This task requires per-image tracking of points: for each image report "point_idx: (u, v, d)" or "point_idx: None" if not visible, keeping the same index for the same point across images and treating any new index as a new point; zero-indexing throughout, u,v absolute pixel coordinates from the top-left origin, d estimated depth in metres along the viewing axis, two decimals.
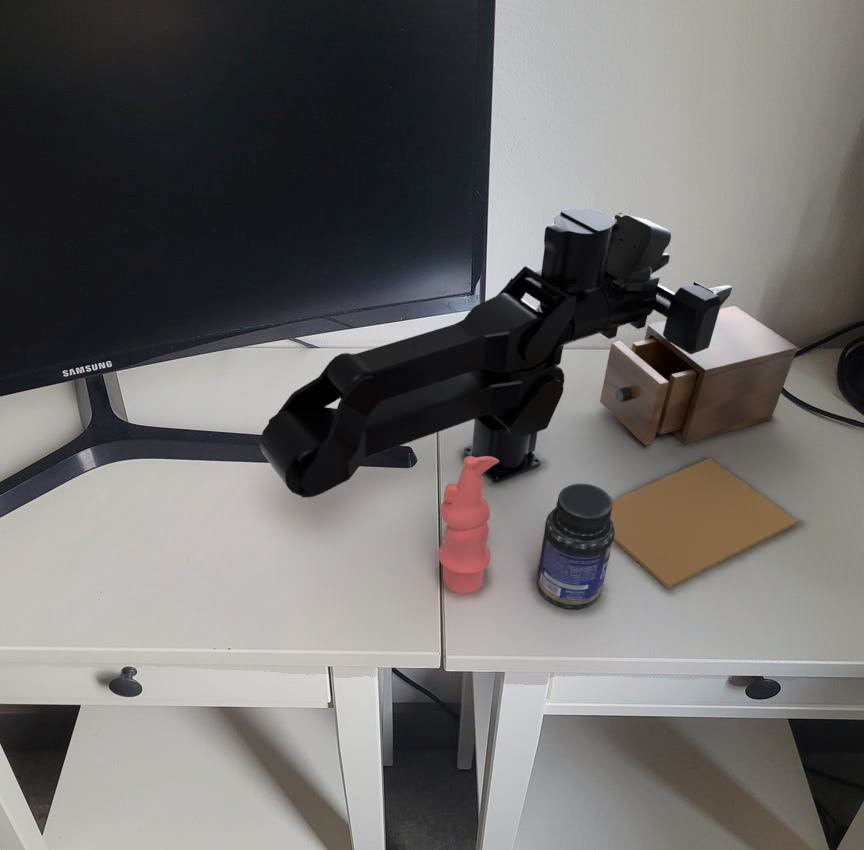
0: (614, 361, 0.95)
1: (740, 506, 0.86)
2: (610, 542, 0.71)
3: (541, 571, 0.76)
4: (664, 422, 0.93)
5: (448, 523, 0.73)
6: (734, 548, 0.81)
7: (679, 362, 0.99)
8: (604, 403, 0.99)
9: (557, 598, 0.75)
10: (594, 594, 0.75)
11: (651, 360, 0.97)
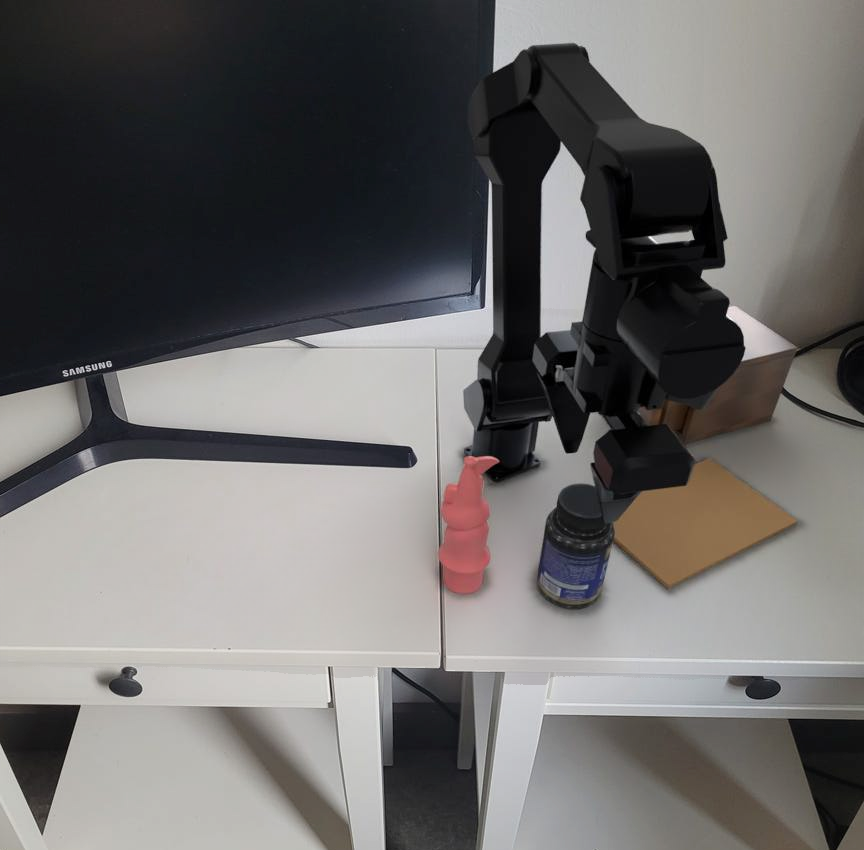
0: None
1: (740, 506, 0.86)
2: (610, 542, 0.71)
3: (541, 571, 0.76)
4: (664, 422, 0.93)
5: (448, 523, 0.73)
6: (734, 548, 0.81)
7: None
8: None
9: (557, 598, 0.75)
10: (594, 594, 0.75)
11: None
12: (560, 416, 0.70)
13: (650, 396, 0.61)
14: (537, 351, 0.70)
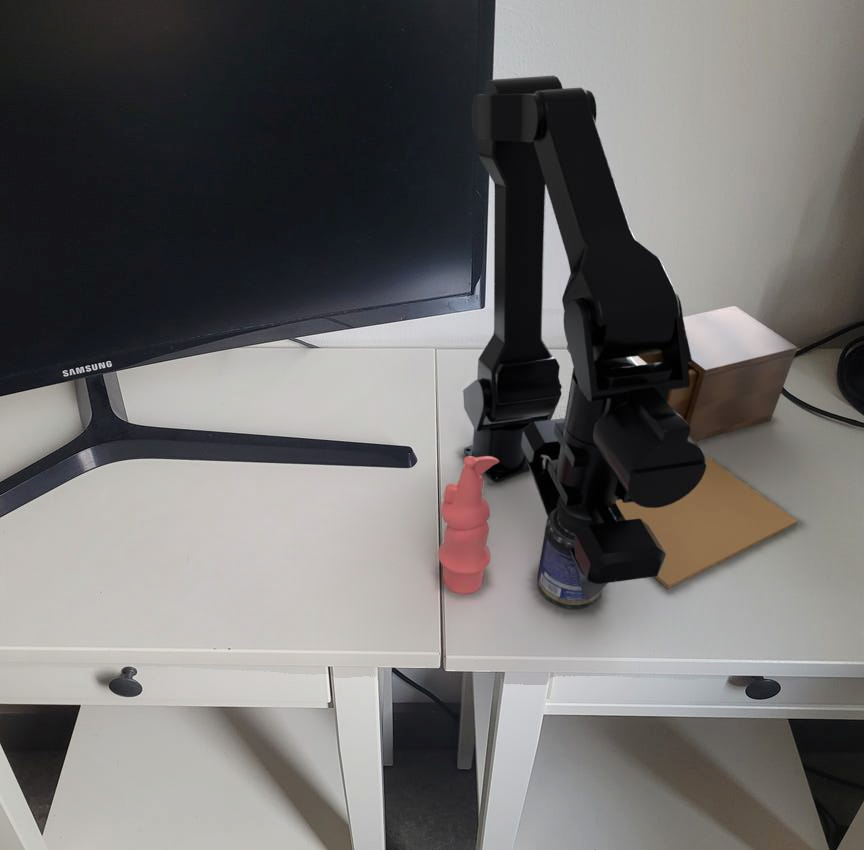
0: None
1: (740, 506, 0.86)
2: None
3: (541, 571, 0.76)
4: None
5: (448, 523, 0.73)
6: (734, 548, 0.81)
7: None
8: None
9: (557, 598, 0.75)
10: None
11: (651, 360, 0.97)
12: (547, 500, 0.76)
13: (626, 491, 0.67)
14: (525, 439, 0.76)
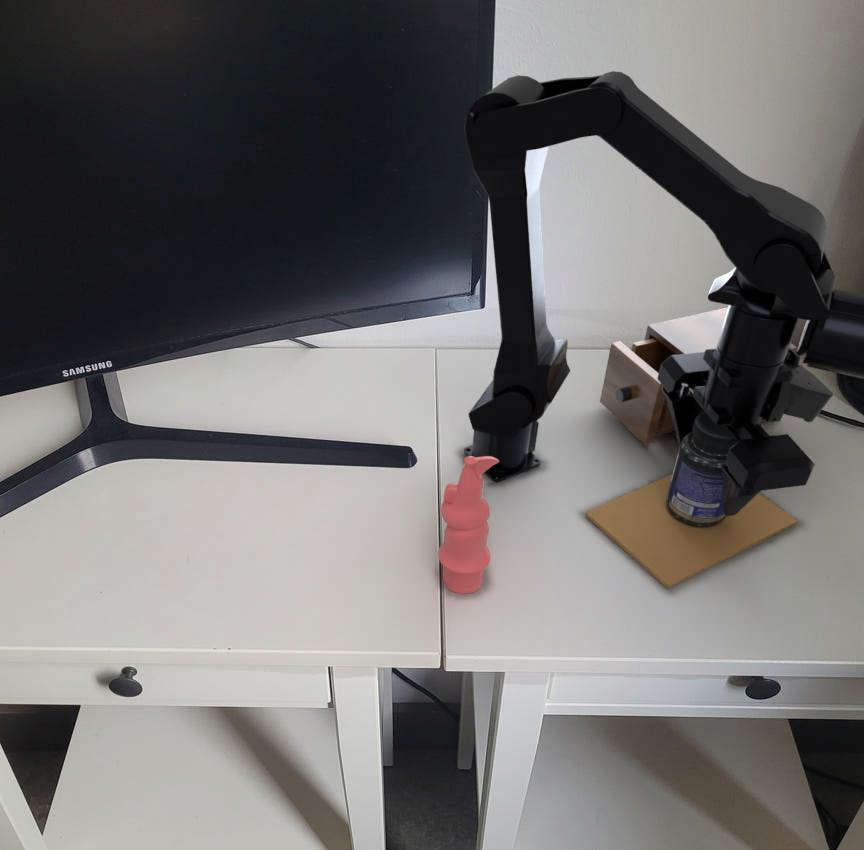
0: (614, 361, 0.95)
1: None
2: None
3: (673, 493, 0.83)
4: (664, 422, 0.93)
5: (448, 523, 0.73)
6: (734, 548, 0.81)
7: None
8: (604, 403, 0.99)
9: (689, 517, 0.82)
10: (723, 513, 0.82)
11: (651, 360, 0.97)
12: (682, 426, 0.83)
13: (772, 411, 0.74)
14: (663, 371, 0.82)
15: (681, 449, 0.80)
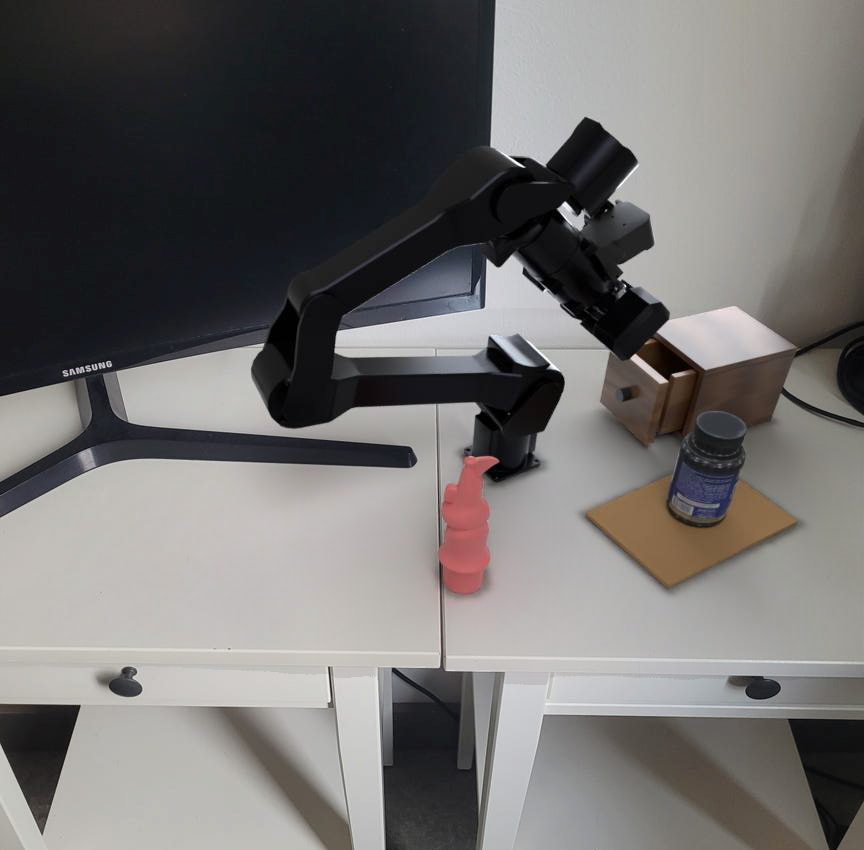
0: (614, 361, 0.95)
1: (740, 506, 0.86)
2: (743, 463, 0.79)
3: (673, 493, 0.83)
4: (664, 422, 0.93)
5: (448, 523, 0.73)
6: (734, 548, 0.81)
7: (679, 362, 0.99)
8: (604, 403, 0.99)
9: (689, 517, 0.82)
10: (723, 513, 0.82)
11: (651, 360, 0.97)
12: None
13: (608, 275, 0.78)
14: (528, 279, 0.89)
15: (682, 449, 0.80)
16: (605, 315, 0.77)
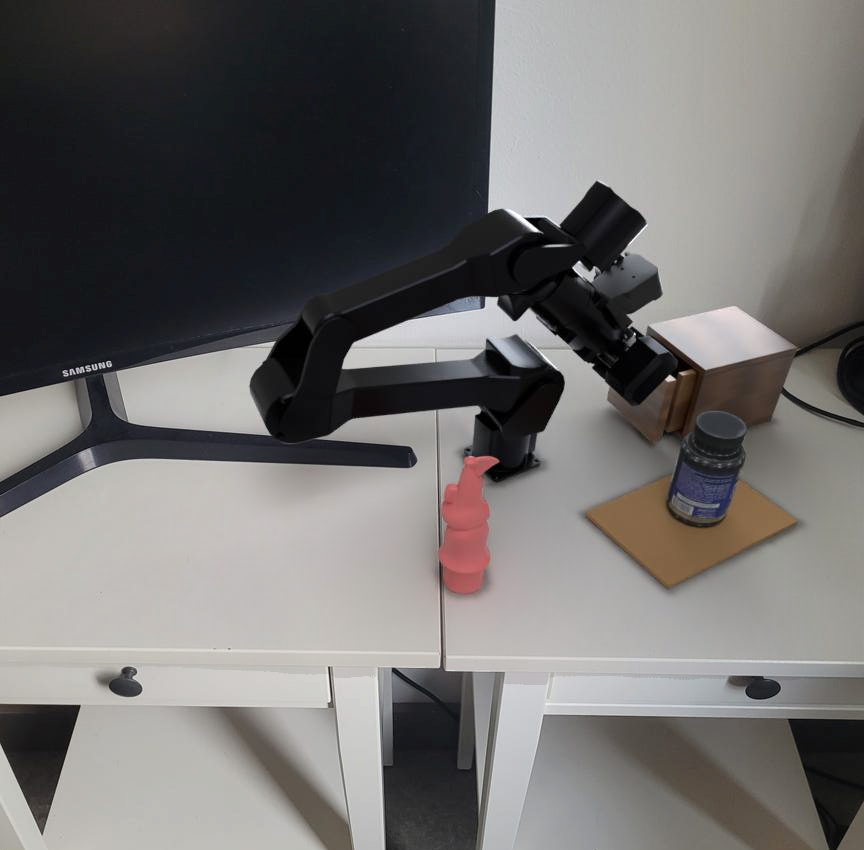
0: None
1: (740, 506, 0.86)
2: (743, 463, 0.79)
3: (673, 493, 0.83)
4: (671, 420, 0.93)
5: (448, 523, 0.73)
6: (734, 548, 0.81)
7: None
8: (611, 401, 0.99)
9: (689, 517, 0.82)
10: (723, 513, 0.82)
11: None
12: None
13: (618, 324, 0.83)
14: (541, 322, 0.93)
15: (682, 449, 0.80)
16: (616, 363, 0.82)
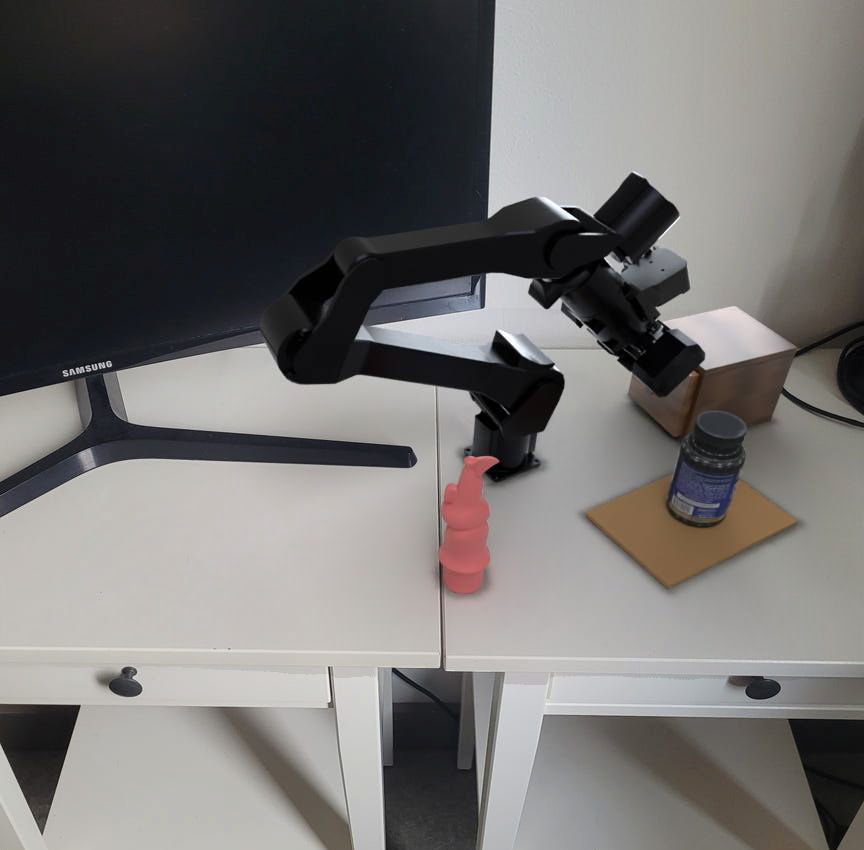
0: None
1: (740, 506, 0.86)
2: (743, 463, 0.79)
3: (673, 493, 0.83)
4: None
5: (448, 523, 0.73)
6: (734, 548, 0.81)
7: None
8: (632, 396, 1.00)
9: (689, 517, 0.82)
10: (722, 513, 0.82)
11: None
12: None
13: (646, 316, 0.84)
14: (565, 315, 0.94)
15: (682, 449, 0.80)
16: (644, 354, 0.83)
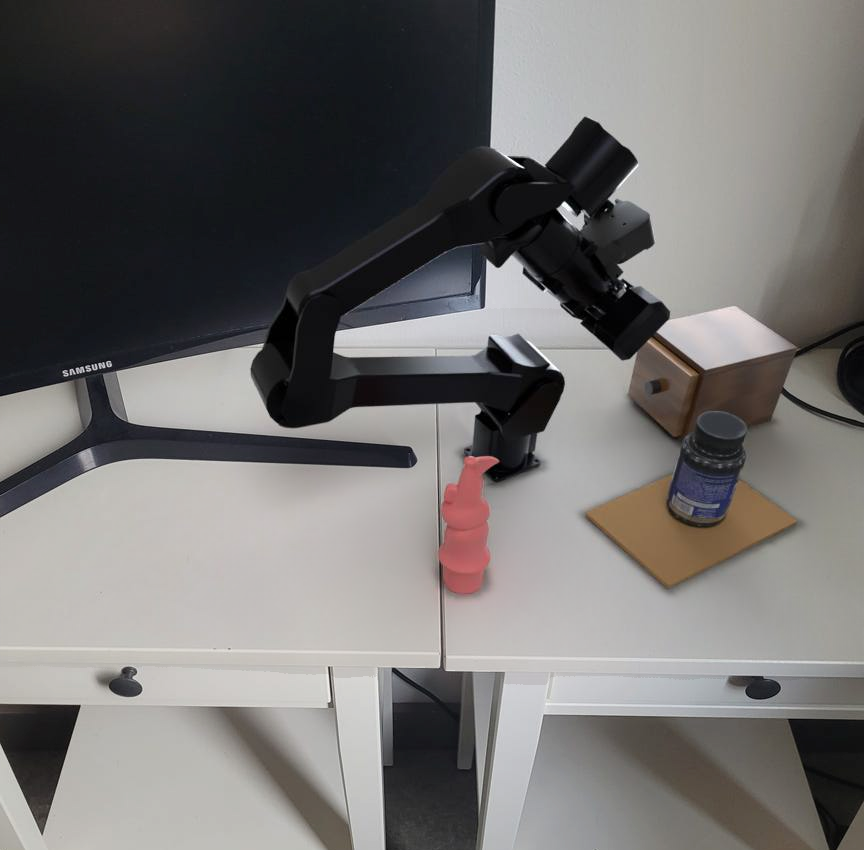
0: (643, 354, 0.96)
1: (740, 506, 0.86)
2: (743, 463, 0.79)
3: (673, 493, 0.83)
4: None
5: (448, 523, 0.73)
6: (734, 548, 0.81)
7: None
8: (632, 396, 1.00)
9: (689, 517, 0.82)
10: (723, 514, 0.82)
11: None
12: None
13: (608, 274, 0.78)
14: (528, 278, 0.89)
15: (682, 449, 0.80)
16: (605, 315, 0.77)
